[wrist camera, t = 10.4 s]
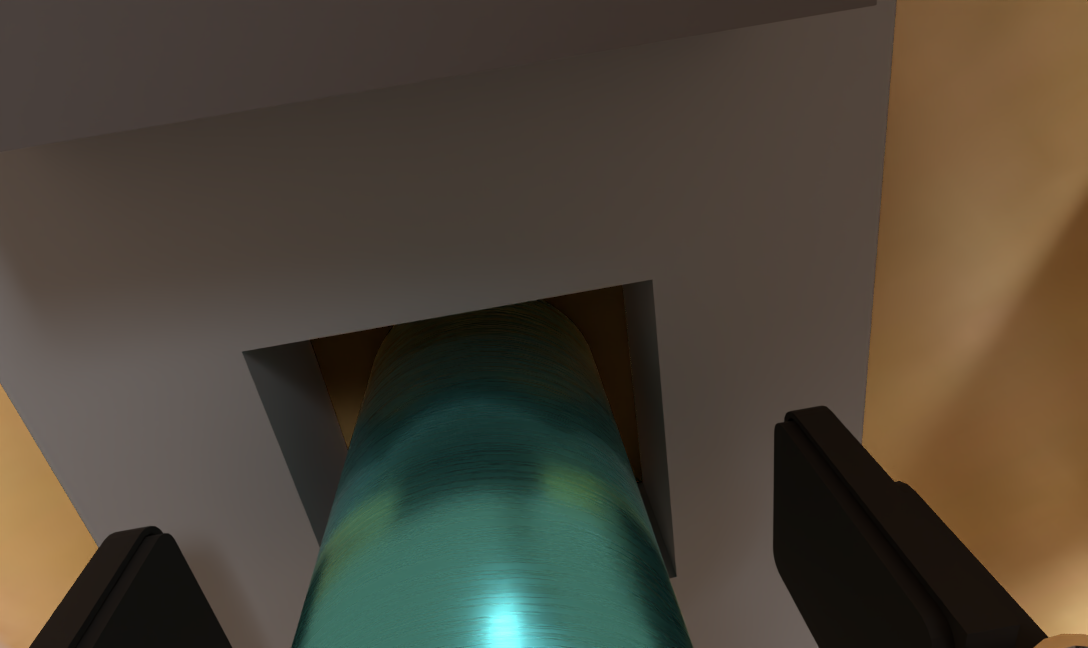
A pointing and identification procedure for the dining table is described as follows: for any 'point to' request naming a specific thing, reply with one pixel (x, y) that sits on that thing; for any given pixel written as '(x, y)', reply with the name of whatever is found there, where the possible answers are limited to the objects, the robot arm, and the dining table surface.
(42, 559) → the dining table surface
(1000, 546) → the dining table surface
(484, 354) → the teal translucent cylinder
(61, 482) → the plate
